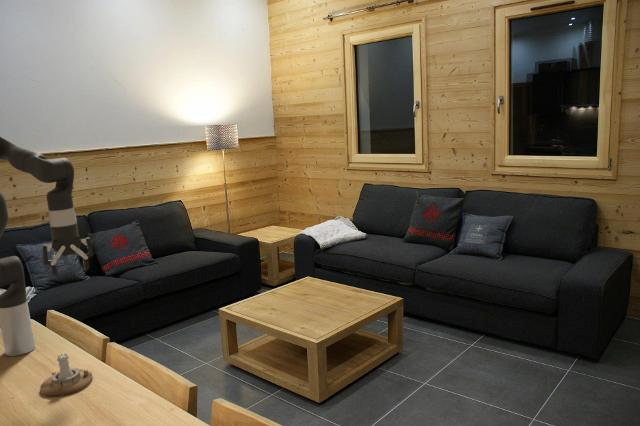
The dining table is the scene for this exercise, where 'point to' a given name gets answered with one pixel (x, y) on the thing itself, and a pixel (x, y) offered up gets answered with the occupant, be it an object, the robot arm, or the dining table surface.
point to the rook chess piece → (64, 367)
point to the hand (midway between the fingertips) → (71, 273)
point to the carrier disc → (66, 383)
